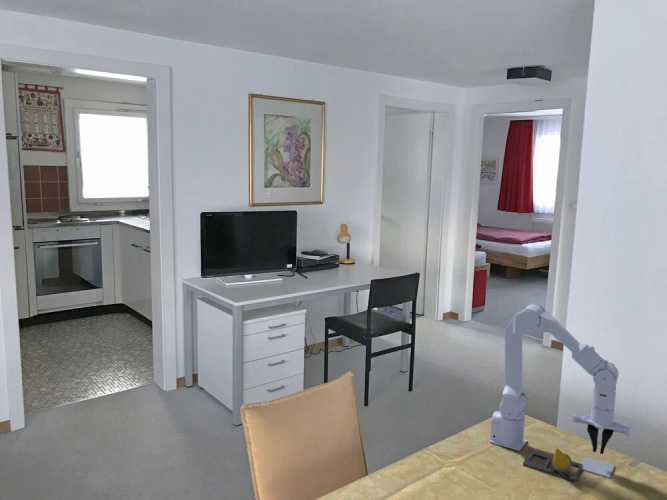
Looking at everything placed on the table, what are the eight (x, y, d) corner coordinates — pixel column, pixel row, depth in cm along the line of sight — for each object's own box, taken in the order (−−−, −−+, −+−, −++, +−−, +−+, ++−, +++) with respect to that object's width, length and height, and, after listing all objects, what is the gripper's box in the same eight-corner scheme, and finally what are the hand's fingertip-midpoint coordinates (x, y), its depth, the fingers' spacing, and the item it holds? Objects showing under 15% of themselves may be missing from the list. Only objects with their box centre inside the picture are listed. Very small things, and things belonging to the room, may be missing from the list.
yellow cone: (574, 478, 155) (567, 457, 150) (554, 477, 158) (546, 456, 153) (573, 460, 159) (567, 439, 154) (553, 460, 162) (546, 439, 157)
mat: (578, 469, 159) (579, 467, 159) (584, 457, 166) (584, 456, 166) (609, 478, 155) (609, 477, 154) (614, 466, 161) (614, 465, 161)
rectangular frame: (522, 465, 160) (522, 463, 160) (532, 451, 168) (532, 449, 168) (574, 482, 152) (574, 479, 152) (582, 466, 160) (582, 464, 160)
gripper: (572, 404, 158) (568, 449, 160) (629, 418, 150) (624, 465, 152) (577, 396, 164) (573, 440, 166) (633, 409, 156) (628, 455, 158)
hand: (598, 451), depth 159 cm, fingers closed
